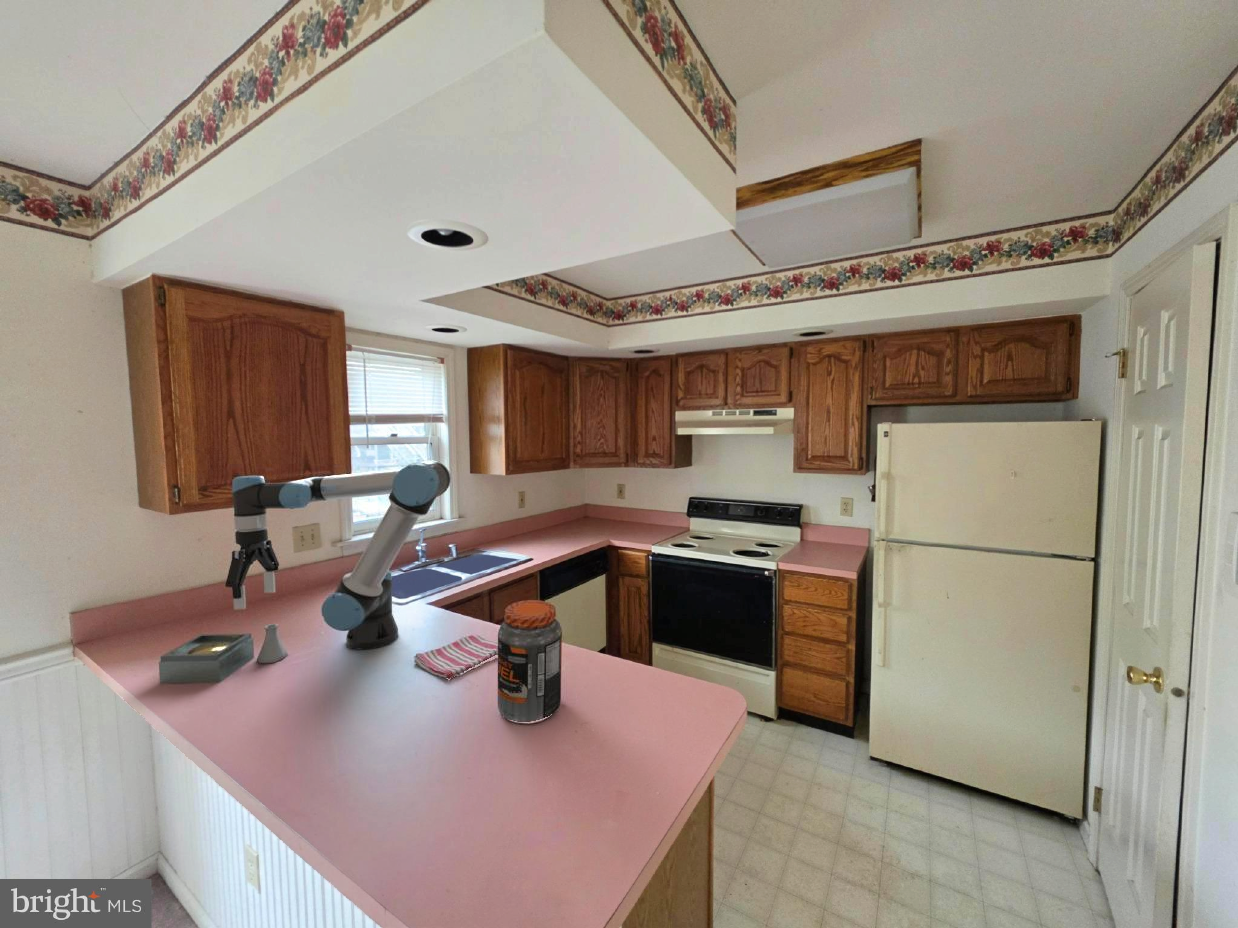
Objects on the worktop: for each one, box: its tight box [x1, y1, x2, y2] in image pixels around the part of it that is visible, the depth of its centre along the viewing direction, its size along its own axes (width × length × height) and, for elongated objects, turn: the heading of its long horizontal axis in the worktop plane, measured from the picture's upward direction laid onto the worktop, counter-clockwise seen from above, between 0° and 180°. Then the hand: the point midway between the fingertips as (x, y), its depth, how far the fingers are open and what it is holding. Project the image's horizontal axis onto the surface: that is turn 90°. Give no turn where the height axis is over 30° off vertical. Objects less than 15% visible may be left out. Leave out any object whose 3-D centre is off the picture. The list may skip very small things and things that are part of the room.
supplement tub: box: [497, 599, 563, 722], centre depth 122 cm, size 16×16×26 cm
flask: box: [256, 623, 288, 664], centre depth 145 cm, size 7×7×10 cm
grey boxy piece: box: [158, 632, 255, 685], centre depth 137 cm, size 15×14×8 cm
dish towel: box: [413, 634, 498, 680], centre depth 148 cm, size 17×23×4 cm
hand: (255, 600), depth 143 cm, fingers open, 13 cm apart
